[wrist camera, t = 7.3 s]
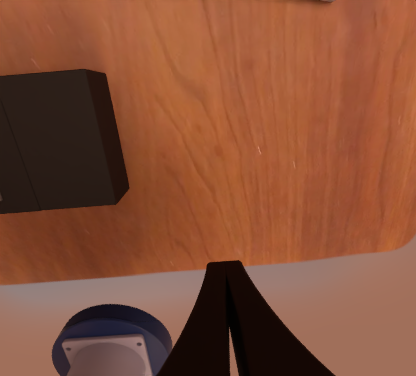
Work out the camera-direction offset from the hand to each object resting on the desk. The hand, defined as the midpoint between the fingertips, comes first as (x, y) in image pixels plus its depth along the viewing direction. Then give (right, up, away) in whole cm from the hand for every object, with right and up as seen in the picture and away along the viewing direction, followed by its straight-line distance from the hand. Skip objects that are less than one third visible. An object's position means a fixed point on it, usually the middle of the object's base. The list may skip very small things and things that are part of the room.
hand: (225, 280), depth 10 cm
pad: (-9, +7, +7) cm, 14 cm away
